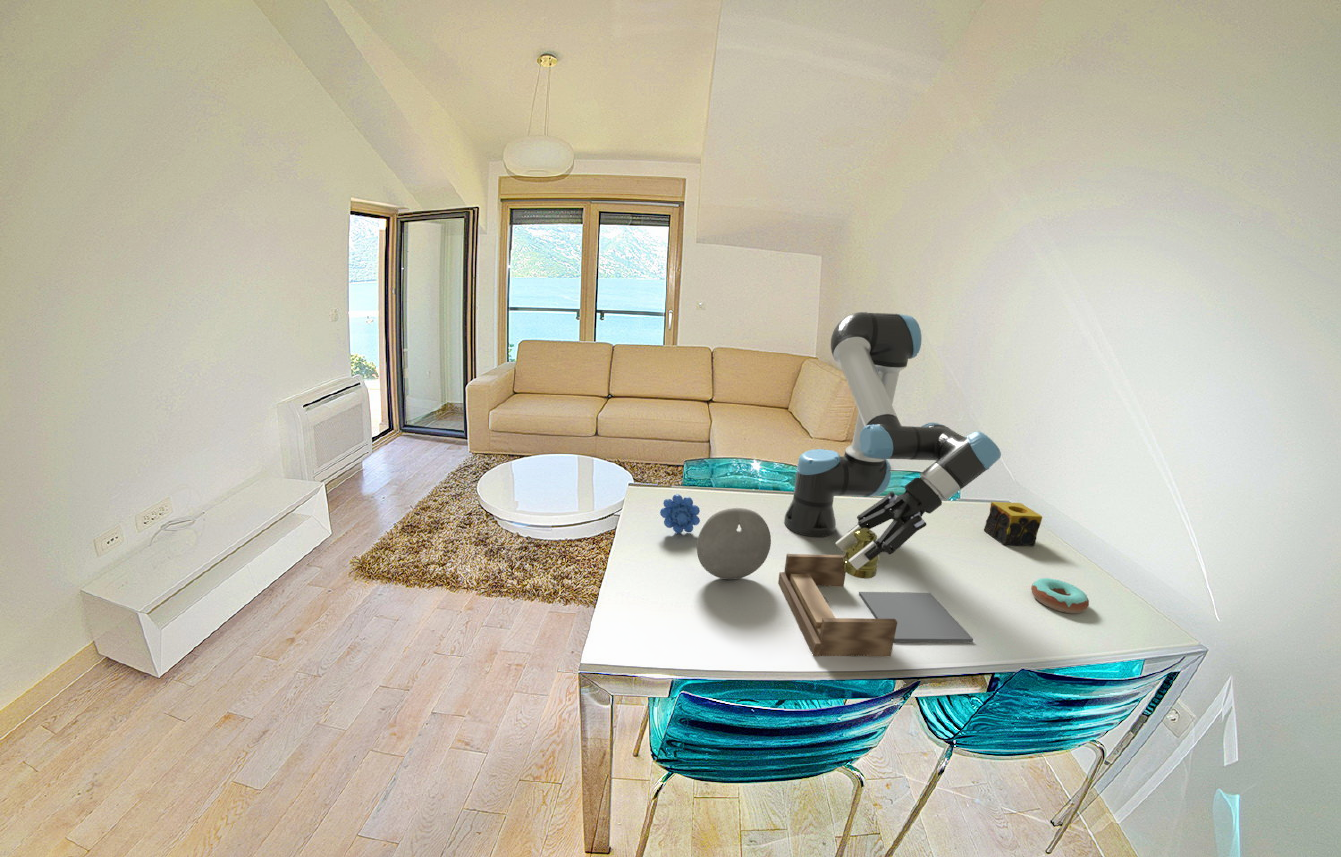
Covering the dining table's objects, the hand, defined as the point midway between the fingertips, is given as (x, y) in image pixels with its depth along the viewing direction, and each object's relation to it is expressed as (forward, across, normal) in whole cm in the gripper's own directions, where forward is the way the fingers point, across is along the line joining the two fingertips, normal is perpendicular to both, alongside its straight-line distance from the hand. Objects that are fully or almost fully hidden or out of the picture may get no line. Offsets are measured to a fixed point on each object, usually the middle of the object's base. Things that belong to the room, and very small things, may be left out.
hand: (845, 555), depth 125 cm
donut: (-31, +7, -53) cm, 61 cm away
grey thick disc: (+26, +15, +4) cm, 30 cm away
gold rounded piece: (0, 0, -5) cm, 5 cm away
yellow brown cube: (-38, +41, -60) cm, 82 cm away
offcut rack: (+12, 0, -9) cm, 15 cm away
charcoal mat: (-2, 0, -23) cm, 23 cm away
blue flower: (+34, +39, +12) cm, 52 cm away
